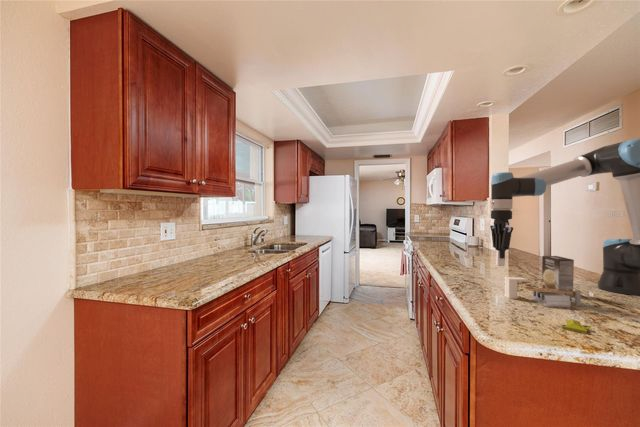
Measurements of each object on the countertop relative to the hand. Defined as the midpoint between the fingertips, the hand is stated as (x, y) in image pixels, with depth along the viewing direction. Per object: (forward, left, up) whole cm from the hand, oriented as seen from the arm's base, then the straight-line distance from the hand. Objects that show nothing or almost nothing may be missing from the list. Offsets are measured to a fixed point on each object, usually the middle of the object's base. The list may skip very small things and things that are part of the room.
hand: (500, 265), depth 117 cm
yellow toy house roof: (-5, +32, -14) cm, 35 cm away
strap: (-11, +13, -7) cm, 18 cm away
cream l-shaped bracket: (-2, +7, -11) cm, 13 cm away
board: (-11, +13, -13) cm, 21 cm away
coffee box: (-24, -2, -13) cm, 27 cm away
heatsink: (-11, +13, -11) cm, 20 cm away
